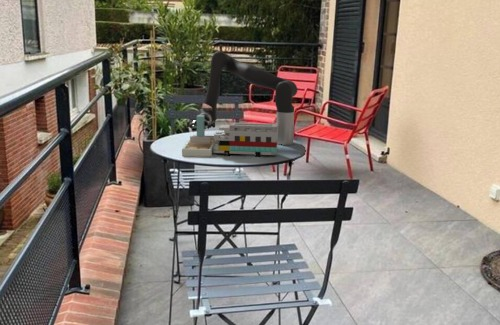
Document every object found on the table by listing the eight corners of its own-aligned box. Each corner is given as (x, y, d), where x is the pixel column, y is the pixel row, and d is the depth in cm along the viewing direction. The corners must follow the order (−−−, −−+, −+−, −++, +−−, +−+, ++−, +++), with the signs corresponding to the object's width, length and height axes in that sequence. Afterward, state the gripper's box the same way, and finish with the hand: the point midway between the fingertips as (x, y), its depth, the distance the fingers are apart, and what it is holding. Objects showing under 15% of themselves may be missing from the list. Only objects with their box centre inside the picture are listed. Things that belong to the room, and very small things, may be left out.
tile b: (188, 148, 240) (188, 152, 241) (196, 148, 240) (196, 152, 241) (190, 146, 244) (190, 150, 245) (198, 146, 244) (198, 150, 245)
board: (193, 142, 265) (193, 135, 264) (215, 143, 265) (215, 135, 264) (187, 150, 248) (187, 142, 247) (211, 150, 247) (211, 143, 246)
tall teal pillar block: (191, 140, 252) (191, 115, 249) (211, 140, 252) (210, 115, 248) (190, 142, 248) (189, 116, 244) (209, 142, 247) (209, 117, 244)
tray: (185, 150, 247) (185, 144, 246) (213, 151, 247) (213, 144, 246) (182, 155, 237) (181, 149, 236) (211, 156, 236) (211, 149, 235)
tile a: (198, 148, 240) (198, 152, 241) (206, 148, 240) (206, 152, 241) (199, 146, 244) (199, 150, 245) (207, 147, 244) (207, 151, 244)
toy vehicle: (216, 151, 246) (215, 121, 242) (276, 153, 243) (277, 123, 240) (213, 155, 238) (213, 124, 235) (276, 157, 236) (276, 126, 232)
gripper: (190, 113, 259) (185, 118, 243) (217, 114, 259) (213, 119, 243) (190, 127, 261) (185, 133, 245) (217, 128, 261) (213, 134, 245)
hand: (199, 126), depth 244 cm, fingers open, 8 cm apart
